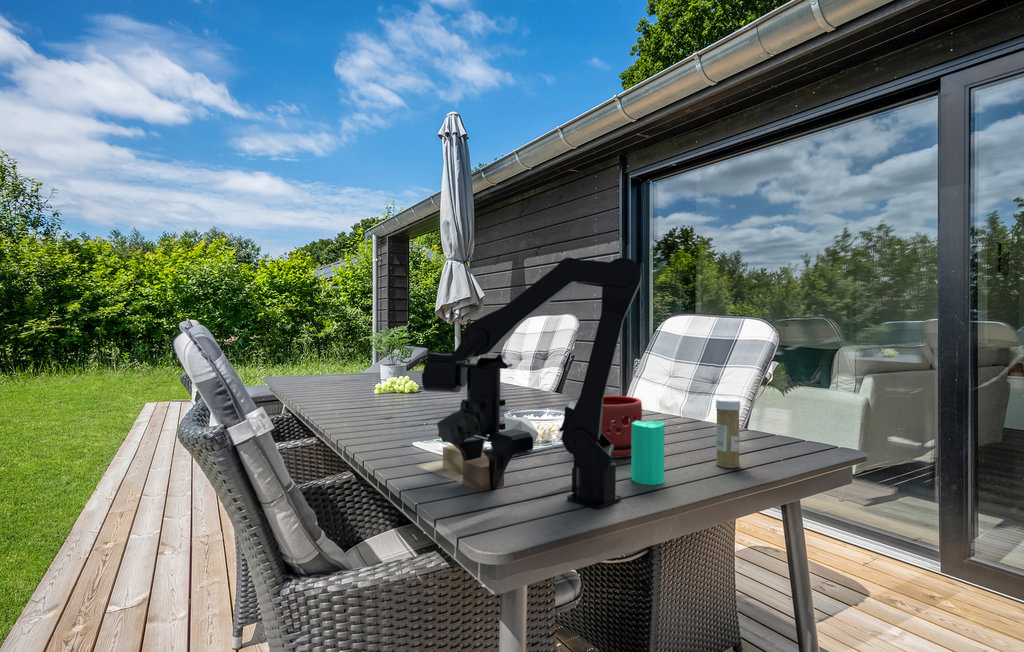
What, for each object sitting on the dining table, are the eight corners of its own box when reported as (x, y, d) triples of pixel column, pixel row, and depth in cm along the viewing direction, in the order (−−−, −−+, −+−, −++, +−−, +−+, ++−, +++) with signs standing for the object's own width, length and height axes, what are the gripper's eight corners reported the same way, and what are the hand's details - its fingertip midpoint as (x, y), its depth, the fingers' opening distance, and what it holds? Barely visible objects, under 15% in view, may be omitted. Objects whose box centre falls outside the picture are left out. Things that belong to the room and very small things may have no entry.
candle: (668, 478, 99) (668, 413, 99) (659, 486, 94) (660, 418, 93) (636, 473, 102) (637, 410, 102) (626, 481, 97) (626, 415, 96)
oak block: (487, 468, 101) (487, 447, 101) (462, 474, 97) (462, 452, 97) (467, 462, 105) (467, 442, 105) (442, 468, 101) (442, 447, 101)
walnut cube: (503, 490, 91) (504, 461, 91) (481, 497, 88) (481, 467, 88) (484, 484, 95) (484, 456, 95) (462, 490, 91) (462, 461, 91)
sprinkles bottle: (742, 469, 105) (743, 401, 105) (719, 468, 105) (719, 400, 105) (735, 463, 109) (736, 397, 109) (712, 462, 110) (713, 397, 110)
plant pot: (607, 443, 126) (608, 393, 126) (654, 454, 116) (654, 399, 116) (568, 452, 118) (568, 398, 118) (614, 465, 108) (614, 405, 107)
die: (489, 455, 117) (495, 426, 111) (505, 430, 124) (512, 401, 118) (523, 471, 115) (531, 442, 109) (537, 444, 122) (546, 416, 116)
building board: (509, 473, 101) (509, 468, 101) (459, 487, 93) (459, 481, 93) (463, 459, 111) (463, 454, 111) (414, 470, 103) (414, 465, 103)
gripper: (413, 392, 92) (413, 482, 92) (483, 405, 79) (483, 510, 79) (463, 387, 100) (463, 469, 100) (535, 398, 86) (535, 493, 87)
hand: (483, 484), depth 91 cm, fingers closed on walnut cube, 5 cm apart
